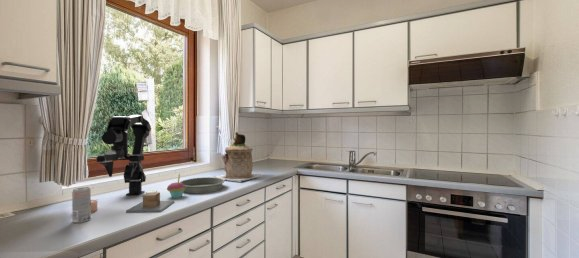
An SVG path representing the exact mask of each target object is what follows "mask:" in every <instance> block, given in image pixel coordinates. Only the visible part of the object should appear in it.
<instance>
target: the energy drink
mask: <svg viewBox="0 0 579 258" xmlns="http://www.w3.org/2000/svg"><path fill="white" fill-rule="evenodd" d="M91 193H92V191H91V188H90V187H88V186H87V187H76V188H73V189H72V193H71V197H72V199H71V207H72V208H71V209H72V211H71V214H72V217H71V218H72V221H71V222H72V223H74V224H81V223H87V222H88V221H90V220H91V218H92V217H91V215H92V213H91V200H92V198H91Z"/></svg>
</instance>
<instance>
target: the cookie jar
mask: <svg viewBox="0 0 579 258" xmlns="http://www.w3.org/2000/svg"><path fill="white" fill-rule="evenodd" d="M234 135H235V136H234V137H233V140H234V142H233V143H231V144H230V145H229V146H226V147H225V150H224V152H225V153H224V155H222V156H221V159H222V162H223V163H224V165H223V170H224V171H225V174H222V175H214V176H213V178H221V179H224V181H230V182H235V183H236V182H237V183H241V182H244V181H248V180H253V179H257V178H258V179H260V178H262V177H263V176H262V175H263V174H261V173H259V174H258V173H252V171H253V166H254V165H253V155H252V154H253V153H252V152H253V149H254V148H252V147H250V146H247V145H246V144H245V143H246V135H245V134H242V133H239V132H238V131H236V132H235V133H234Z"/></svg>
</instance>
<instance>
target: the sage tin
mask: <svg viewBox="0 0 579 258" xmlns="http://www.w3.org/2000/svg"><path fill="white" fill-rule="evenodd" d="M150 192H158V189H154V190H147V191H146V193H145V194H147V193H150Z"/></svg>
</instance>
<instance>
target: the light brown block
mask: <svg viewBox="0 0 579 258" xmlns="http://www.w3.org/2000/svg"><path fill="white" fill-rule="evenodd" d="M97 211H98V200H97V199H91V214H93V213H96V212H97Z"/></svg>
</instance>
